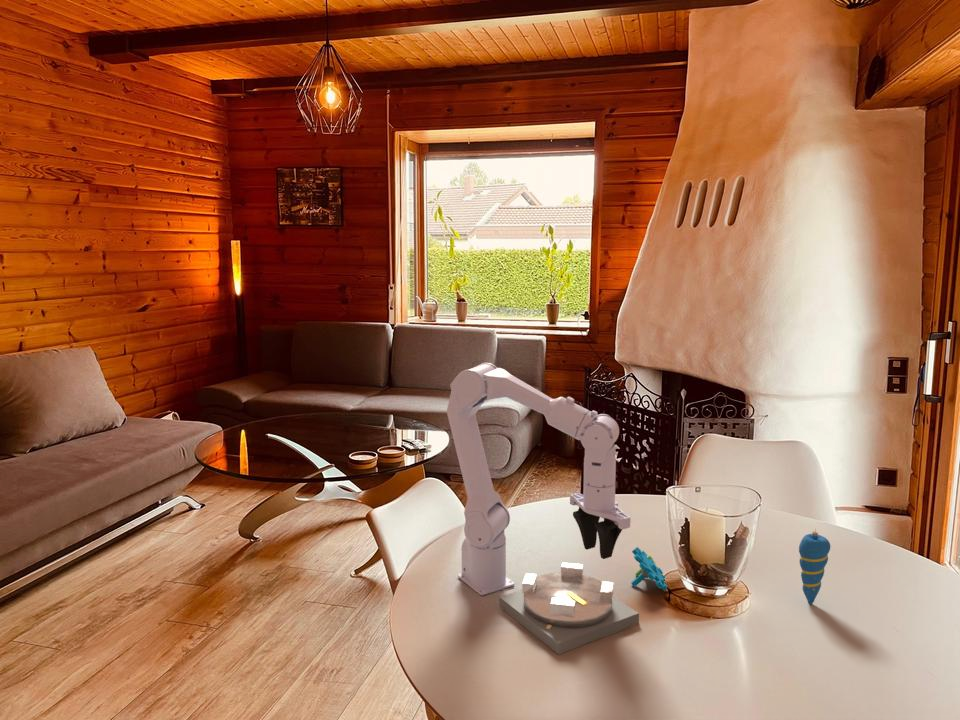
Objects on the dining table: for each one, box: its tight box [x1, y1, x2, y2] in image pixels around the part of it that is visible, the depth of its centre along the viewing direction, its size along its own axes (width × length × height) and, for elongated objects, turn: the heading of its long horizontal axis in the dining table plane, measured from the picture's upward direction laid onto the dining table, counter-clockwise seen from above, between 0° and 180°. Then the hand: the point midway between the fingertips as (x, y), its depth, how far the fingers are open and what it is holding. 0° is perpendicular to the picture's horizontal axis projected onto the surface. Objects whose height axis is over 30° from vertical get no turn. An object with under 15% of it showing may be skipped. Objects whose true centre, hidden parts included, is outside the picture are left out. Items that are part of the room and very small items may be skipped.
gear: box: [631, 546, 667, 592], centre depth 136 cm, size 11×6×10 cm
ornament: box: [798, 528, 831, 605], centre depth 127 cm, size 5×5×15 cm
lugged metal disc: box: [521, 561, 614, 627], centre depth 125 cm, size 16×16×4 cm
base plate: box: [498, 589, 640, 655], centre depth 125 cm, size 18×18×2 cm
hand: (597, 552), depth 127 cm, fingers open, 4 cm apart
